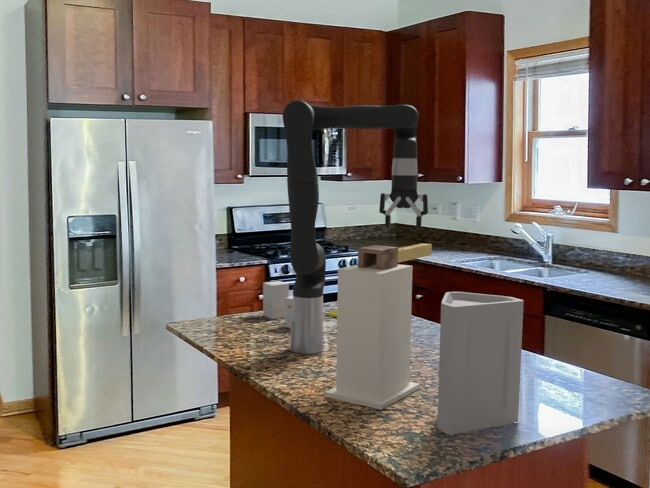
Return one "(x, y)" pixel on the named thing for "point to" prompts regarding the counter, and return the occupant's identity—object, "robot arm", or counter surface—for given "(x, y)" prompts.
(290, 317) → the small box
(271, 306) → the supplement box
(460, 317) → the triangular grey vase
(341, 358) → the mount
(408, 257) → the gold block
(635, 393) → the counter surface
